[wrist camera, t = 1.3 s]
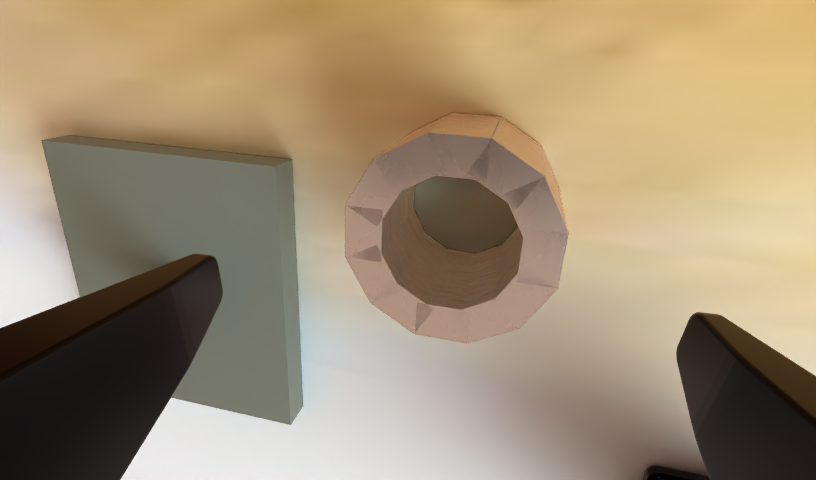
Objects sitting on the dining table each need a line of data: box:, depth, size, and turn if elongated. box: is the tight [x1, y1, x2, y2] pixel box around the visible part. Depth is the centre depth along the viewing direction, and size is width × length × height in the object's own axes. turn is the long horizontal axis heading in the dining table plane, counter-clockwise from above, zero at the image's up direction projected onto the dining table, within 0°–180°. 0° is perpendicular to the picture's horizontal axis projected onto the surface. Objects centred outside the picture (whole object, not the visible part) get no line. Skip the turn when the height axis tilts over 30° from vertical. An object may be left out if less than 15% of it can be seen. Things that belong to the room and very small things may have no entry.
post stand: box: [42, 135, 303, 425], centre depth 22 cm, size 14×12×6 cm
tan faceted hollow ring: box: [345, 113, 568, 343], centre depth 18 cm, size 7×7×5 cm
